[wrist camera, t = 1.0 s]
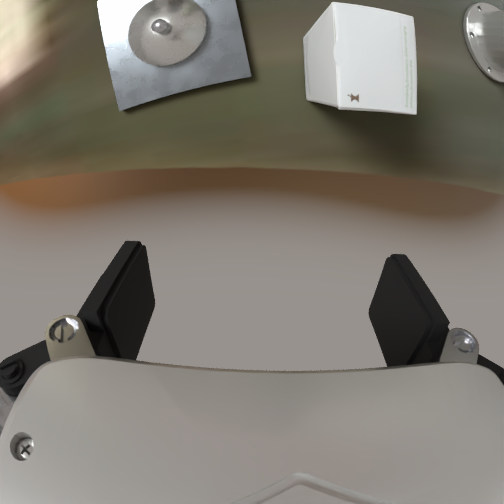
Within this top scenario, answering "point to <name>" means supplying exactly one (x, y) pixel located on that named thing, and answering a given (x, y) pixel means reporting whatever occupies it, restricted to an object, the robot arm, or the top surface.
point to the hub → (170, 46)
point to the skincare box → (362, 60)
